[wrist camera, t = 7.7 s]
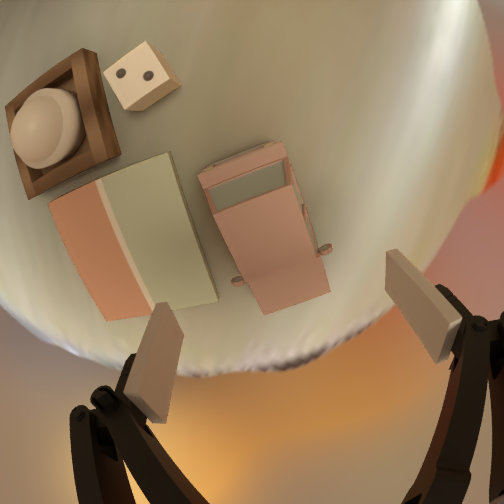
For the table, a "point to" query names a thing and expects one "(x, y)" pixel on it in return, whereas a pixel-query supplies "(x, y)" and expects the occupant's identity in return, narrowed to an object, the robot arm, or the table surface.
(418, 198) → the table surface
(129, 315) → the board
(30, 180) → the dome housing
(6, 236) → the table surface
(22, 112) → the dome
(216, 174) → the toy car
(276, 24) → the table surface
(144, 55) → the die
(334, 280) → the table surface
